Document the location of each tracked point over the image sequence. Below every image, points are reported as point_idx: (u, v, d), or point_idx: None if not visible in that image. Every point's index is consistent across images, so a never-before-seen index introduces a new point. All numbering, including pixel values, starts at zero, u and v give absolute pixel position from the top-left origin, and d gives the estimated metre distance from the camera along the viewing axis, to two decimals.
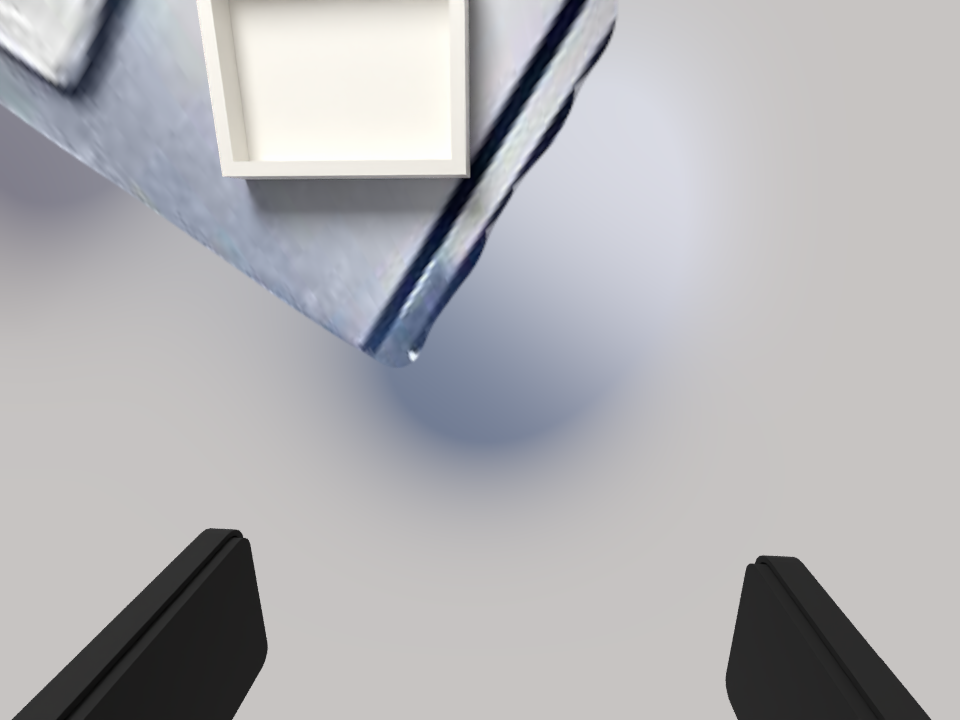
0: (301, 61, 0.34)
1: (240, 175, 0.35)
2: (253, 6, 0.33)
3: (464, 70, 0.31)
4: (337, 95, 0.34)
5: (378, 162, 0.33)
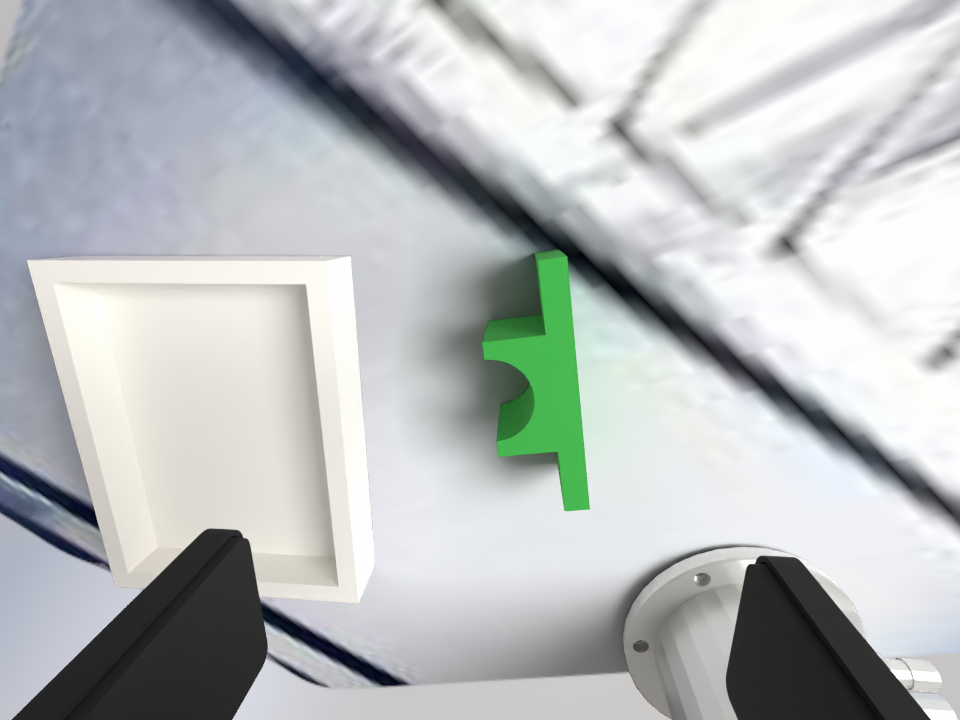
0: (239, 373, 0.24)
1: (37, 289, 0.22)
2: (297, 314, 0.23)
3: None
4: (206, 415, 0.25)
5: (103, 489, 0.25)
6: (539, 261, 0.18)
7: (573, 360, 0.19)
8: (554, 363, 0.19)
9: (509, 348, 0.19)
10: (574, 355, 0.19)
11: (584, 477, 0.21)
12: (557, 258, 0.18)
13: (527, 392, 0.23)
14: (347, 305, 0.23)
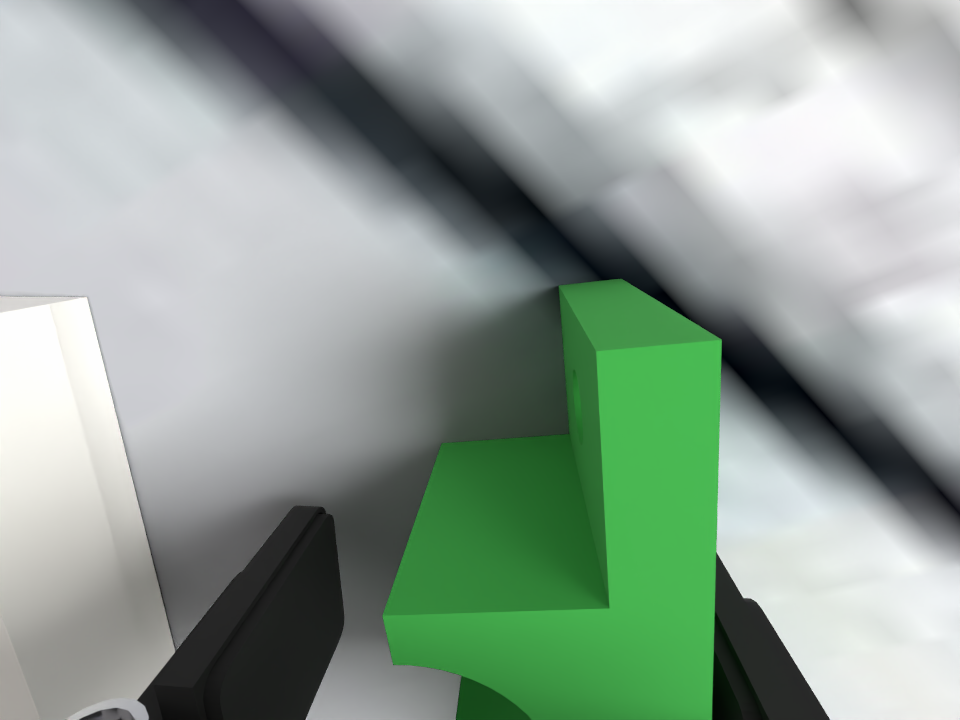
0: None
1: None
2: None
3: None
4: None
5: None
6: (602, 355, 0.04)
7: (702, 688, 0.05)
8: (633, 693, 0.06)
9: (478, 639, 0.05)
10: (708, 676, 0.05)
11: None
12: (678, 346, 0.04)
13: None
14: (72, 422, 0.09)
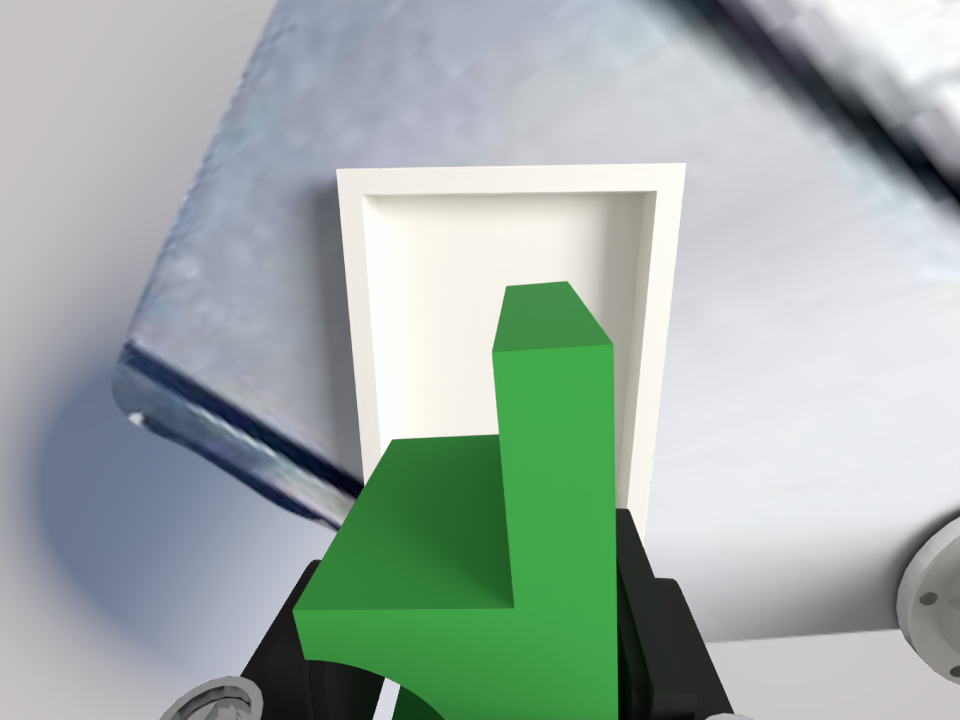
0: None
1: (341, 203, 0.20)
2: (602, 235, 0.21)
3: None
4: (478, 351, 0.23)
5: (376, 430, 0.23)
6: (498, 356, 0.04)
7: (607, 690, 0.05)
8: (540, 694, 0.06)
9: (387, 635, 0.06)
10: (612, 678, 0.05)
11: None
12: (572, 349, 0.04)
13: None
14: None
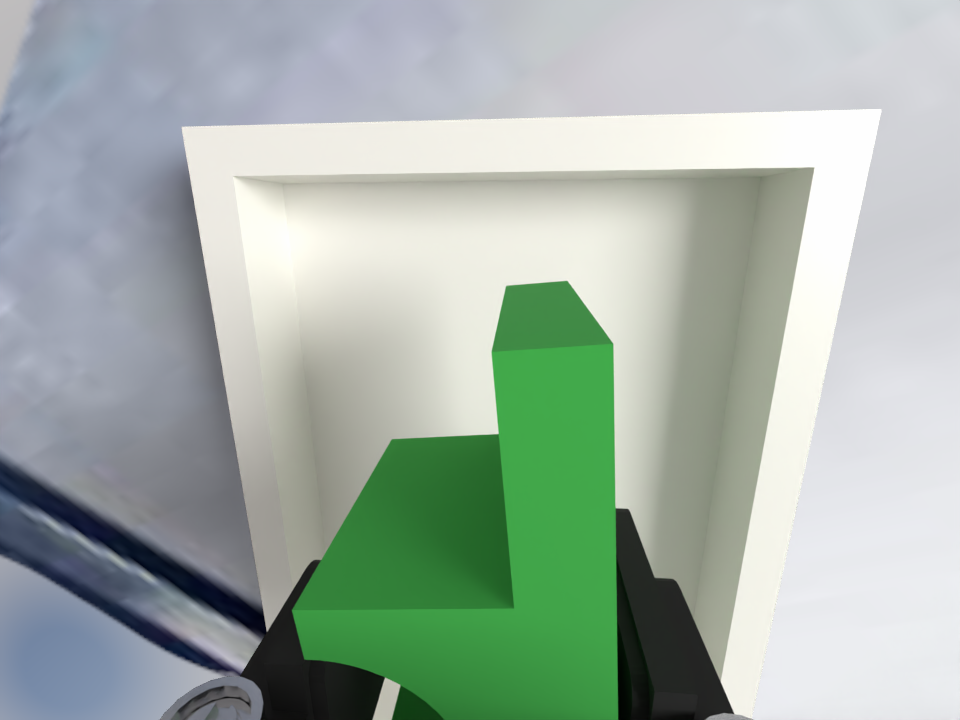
0: None
1: (197, 193, 0.11)
2: (681, 252, 0.12)
3: None
4: None
5: (286, 582, 0.13)
6: (497, 356, 0.04)
7: (607, 690, 0.05)
8: (540, 693, 0.06)
9: (386, 635, 0.05)
10: (612, 678, 0.05)
11: None
12: (572, 348, 0.04)
13: None
14: None
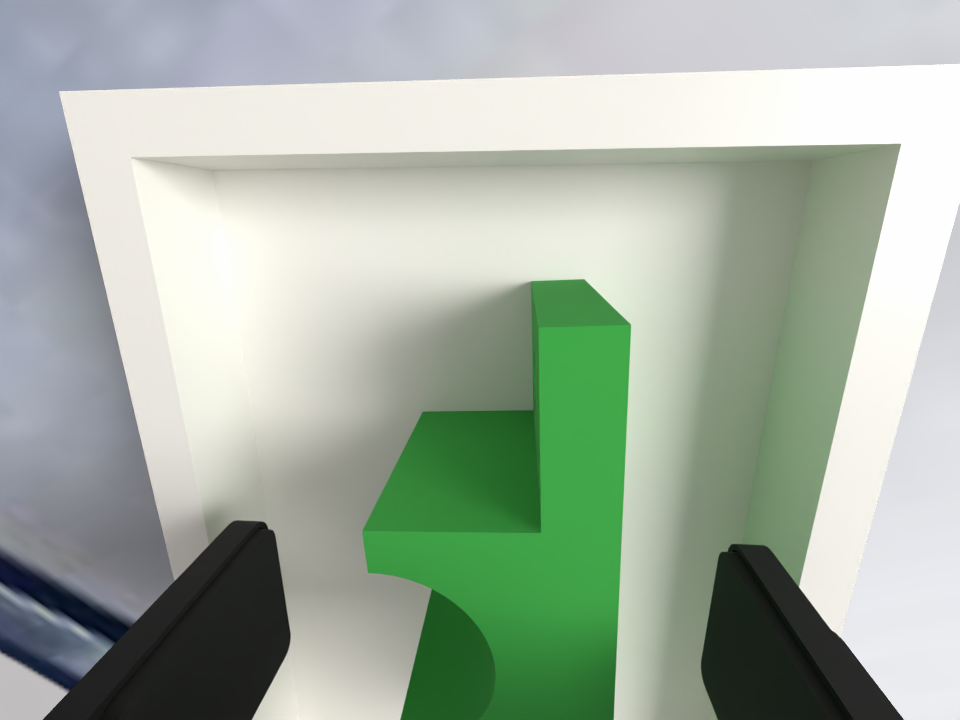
0: None
1: (86, 181, 0.08)
2: (710, 256, 0.10)
3: None
4: None
5: None
6: (543, 331, 0.06)
7: (610, 603, 0.07)
8: (557, 605, 0.07)
9: (437, 554, 0.07)
10: (615, 592, 0.07)
11: None
12: (600, 327, 0.06)
13: None
14: None
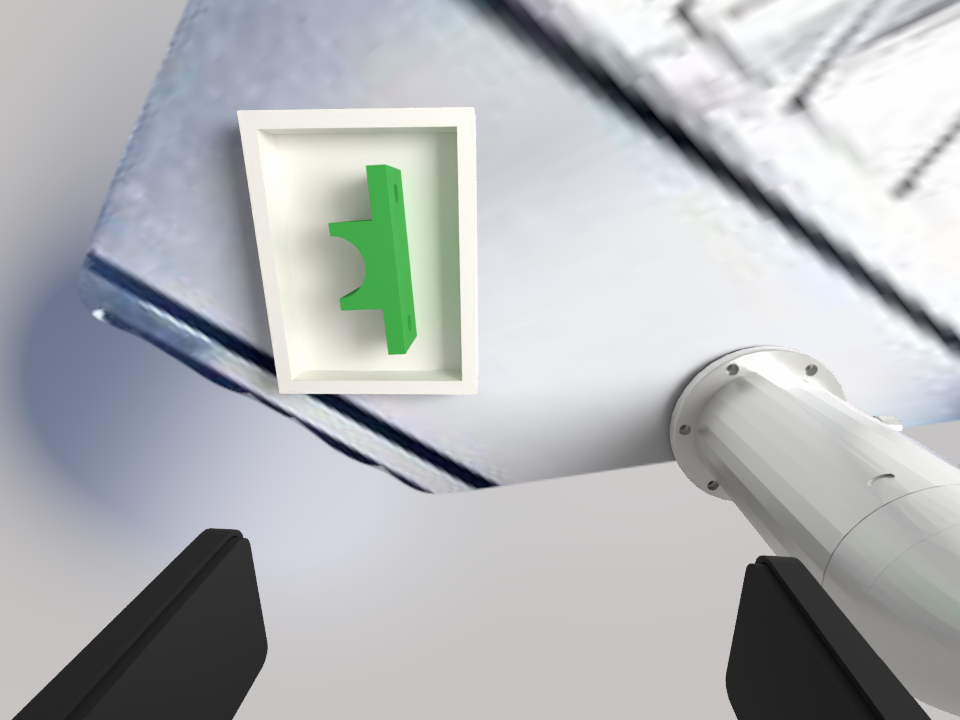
0: None
1: (242, 135, 0.28)
2: (434, 162, 0.30)
3: (370, 392, 0.33)
4: (354, 251, 0.32)
5: (278, 306, 0.31)
6: (366, 166, 0.26)
7: (391, 240, 0.28)
8: (378, 242, 0.28)
9: (347, 228, 0.28)
10: (392, 237, 0.28)
11: (401, 329, 0.29)
12: (379, 165, 0.26)
13: None
14: (475, 153, 0.30)
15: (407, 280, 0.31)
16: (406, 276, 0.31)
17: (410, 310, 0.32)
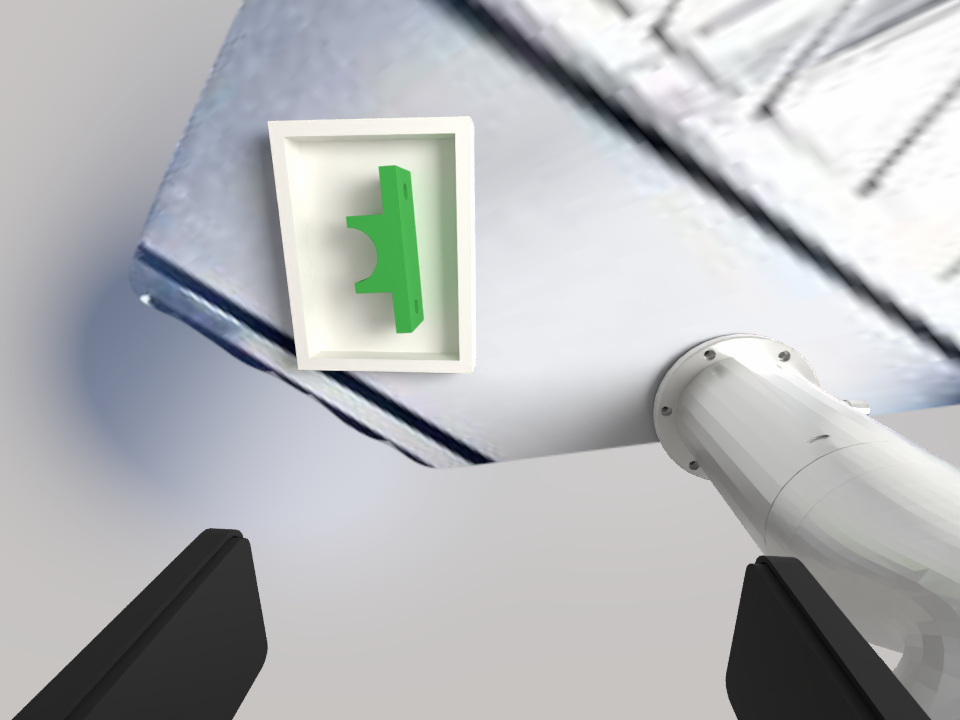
0: None
1: (271, 142, 0.33)
2: (437, 165, 0.34)
3: (377, 370, 0.37)
4: (366, 244, 0.36)
5: (299, 291, 0.36)
6: (379, 167, 0.31)
7: (400, 231, 0.32)
8: (388, 233, 0.32)
9: (362, 221, 0.32)
10: (400, 228, 0.32)
11: (408, 310, 0.33)
12: (389, 166, 0.30)
13: None
14: (473, 157, 0.34)
15: (415, 268, 0.35)
16: (414, 265, 0.35)
17: (417, 295, 0.36)
